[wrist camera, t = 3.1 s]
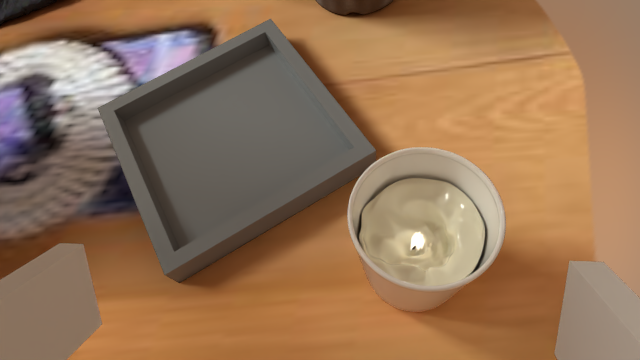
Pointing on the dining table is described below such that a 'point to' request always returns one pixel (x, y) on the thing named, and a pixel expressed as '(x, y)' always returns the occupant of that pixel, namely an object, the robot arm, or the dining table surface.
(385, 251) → the candle holder
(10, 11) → the dark grey crumpled cloth
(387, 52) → the dining table surface
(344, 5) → the plant pot
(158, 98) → the tray
